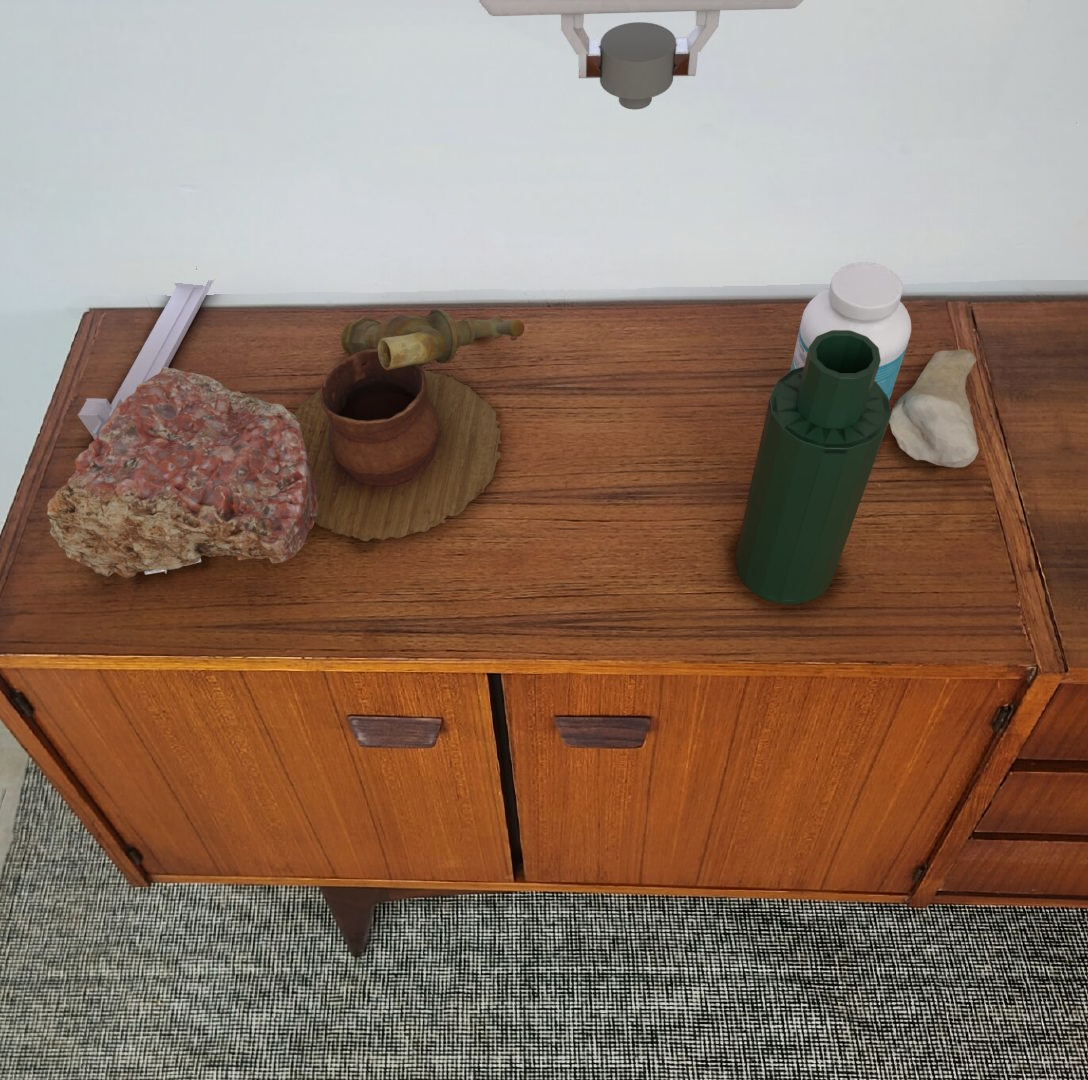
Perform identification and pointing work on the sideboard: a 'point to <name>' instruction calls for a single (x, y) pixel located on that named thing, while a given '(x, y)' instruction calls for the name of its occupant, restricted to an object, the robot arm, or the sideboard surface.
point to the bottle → (812, 468)
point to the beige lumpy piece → (938, 413)
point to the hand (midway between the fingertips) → (637, 72)
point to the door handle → (151, 352)
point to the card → (161, 570)
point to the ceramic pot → (395, 447)
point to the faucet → (421, 337)
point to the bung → (637, 62)
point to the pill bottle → (861, 316)
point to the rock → (187, 481)
